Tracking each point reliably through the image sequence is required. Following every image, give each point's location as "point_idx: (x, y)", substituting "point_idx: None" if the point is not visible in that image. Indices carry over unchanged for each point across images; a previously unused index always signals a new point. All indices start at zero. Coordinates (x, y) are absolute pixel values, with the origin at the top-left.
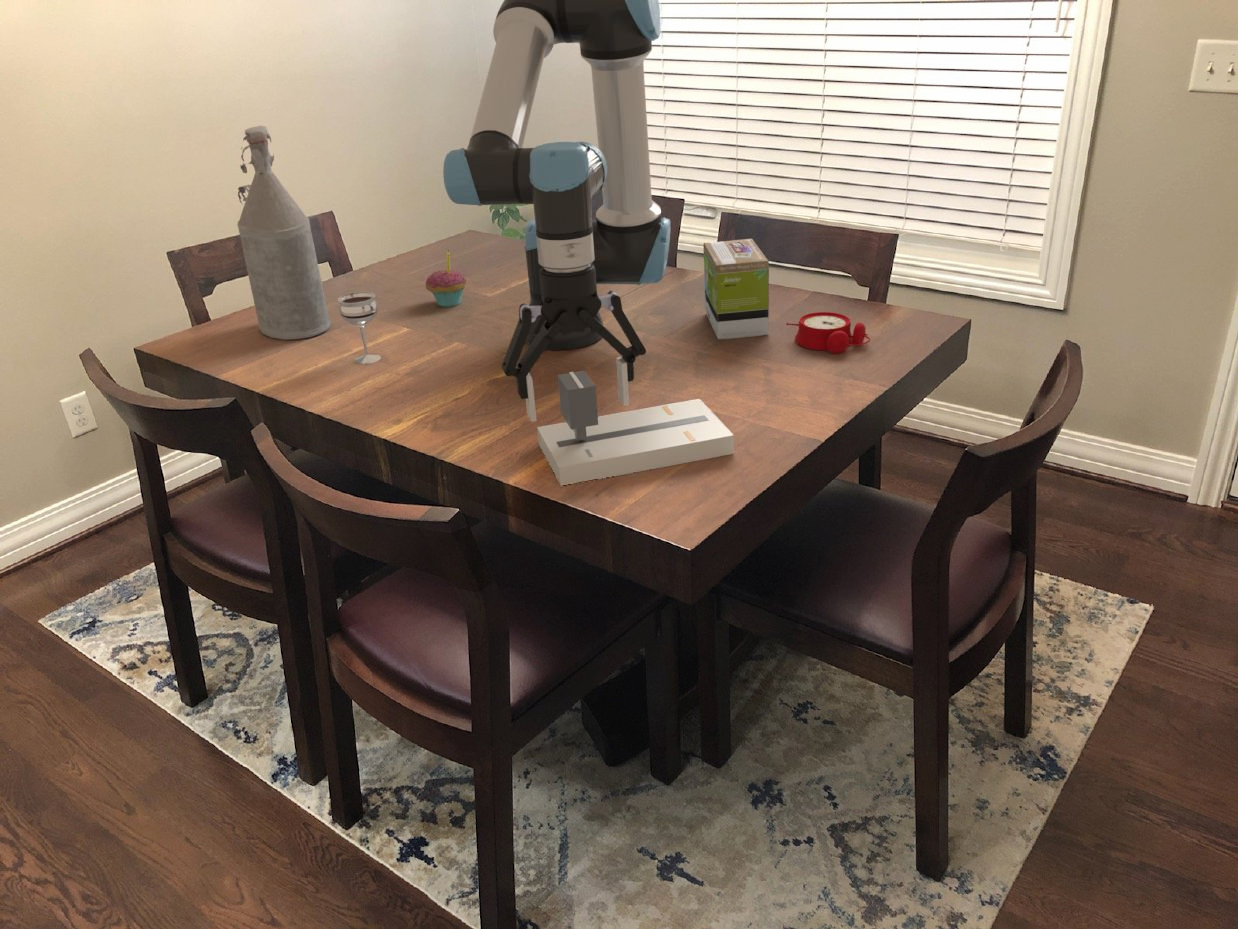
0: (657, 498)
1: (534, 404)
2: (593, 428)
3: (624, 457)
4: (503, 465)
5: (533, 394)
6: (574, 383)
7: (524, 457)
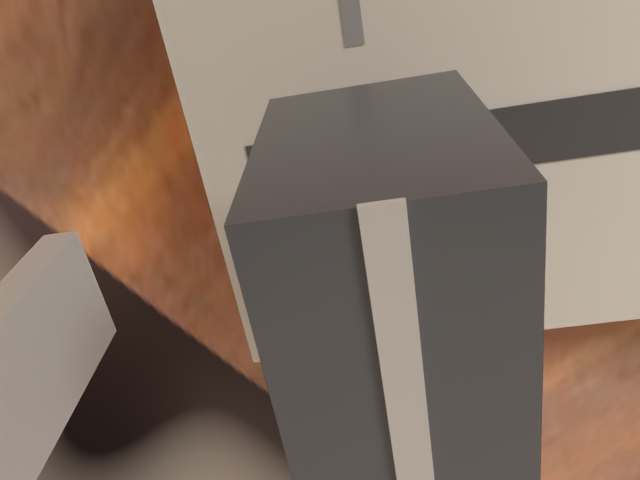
0: (551, 429)
1: (71, 407)
2: (460, 28)
3: None
4: (18, 102)
5: (37, 470)
6: (376, 436)
7: (102, 45)
